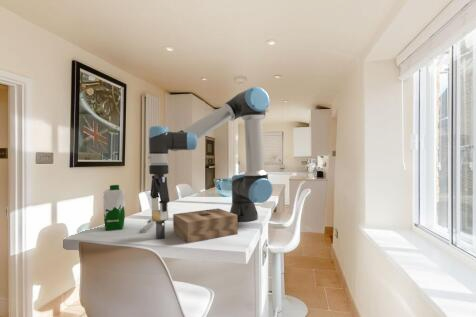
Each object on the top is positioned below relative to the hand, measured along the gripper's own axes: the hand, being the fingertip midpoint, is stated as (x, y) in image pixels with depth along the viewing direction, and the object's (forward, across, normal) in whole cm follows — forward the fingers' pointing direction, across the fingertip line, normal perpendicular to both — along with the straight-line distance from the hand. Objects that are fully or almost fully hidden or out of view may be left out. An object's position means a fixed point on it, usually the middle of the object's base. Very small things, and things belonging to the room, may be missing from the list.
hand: (159, 216), depth 113 cm
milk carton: (+9, -28, -14) cm, 32 cm away
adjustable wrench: (+9, -24, +1) cm, 25 cm away
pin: (+9, 0, 0) cm, 9 cm away
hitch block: (+8, +4, +18) cm, 21 cm away
